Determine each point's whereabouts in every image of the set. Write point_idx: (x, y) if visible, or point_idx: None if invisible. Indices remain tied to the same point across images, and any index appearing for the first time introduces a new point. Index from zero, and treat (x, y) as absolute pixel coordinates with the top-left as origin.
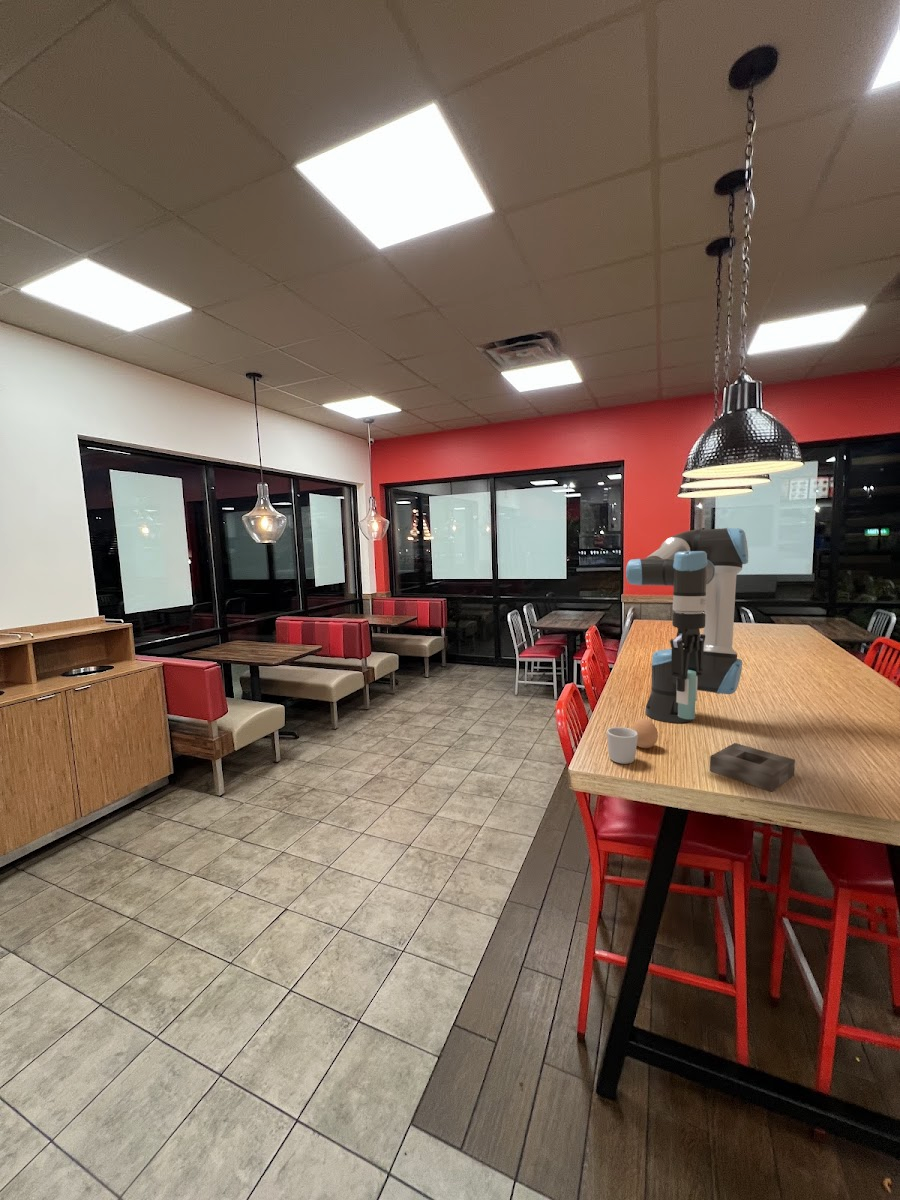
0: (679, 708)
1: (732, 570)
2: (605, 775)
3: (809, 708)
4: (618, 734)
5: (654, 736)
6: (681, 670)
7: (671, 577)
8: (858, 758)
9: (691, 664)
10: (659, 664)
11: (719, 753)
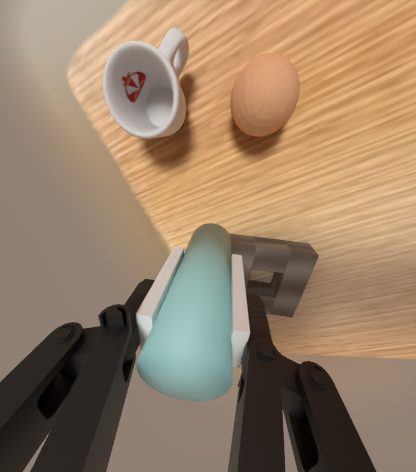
0: (189, 242)
1: None
2: (92, 124)
3: None
4: (163, 71)
5: (251, 134)
6: (40, 407)
7: None
8: (390, 340)
9: (237, 437)
10: None
11: (250, 250)
